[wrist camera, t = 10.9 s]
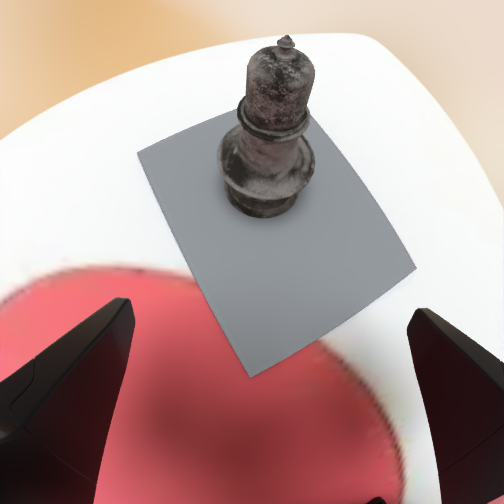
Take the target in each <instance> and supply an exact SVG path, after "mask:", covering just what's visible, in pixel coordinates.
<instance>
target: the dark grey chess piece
mask: <svg viewBox="0 0 504 504" xmlns="http://www.w3.org/2000/svg"><path fill="white" fill-rule="evenodd" d="M277 44H278V45H279V46H269V47H266V48H263V49H261V50H259V51H258V52H256V53H255V54H254V55H253V56H252V57H251V59H250V61H249V63H248V66H247V79H246V96H244V97H243V99H242V100H241V101H240V102H239V105H238V107H237V118H238V121H239V123H240V124H238V125H236V126H235V127H233V128H232V129H231V130H229V131H228V132H227V133H226V134H225V136H224V137H223V138H222V139H221V141H220V144H219V146H218V149H217V164H218V168H219V171H220V173H221V175H222V176H223V178H224V190H225V193H226V197H227V198H228V200H229V201H230V203H231V204H232V205H233V206H234V207H235V208H236V209H237V210H238V211H240V212H241V213H243V214H245V215H247V216H251V217H255V218H272V217H276V216H279V215H281V214H283V213H285V212H286V211H288V210H289V209H290V208H291V207H292V206H293V205H294V203H295V201H296V199H297V197H298V194H299V192H300V191H301V190H302V189H303V188H304V187H305V186H306V185H307V184H308V183H309V181H310V179H311V177H312V175H313V174H314V169H315V163H316V162H315V155H314V151H313V149H312V147H311V145H310V143H309V141H308V140H307V139H306V138H305V137H304V135H303V133H304V132H305V131H306V130H307V128H308V126H309V124H310V118H311V117H310V112H309V109H308V107H307V103H308V99H309V96H310V93H311V89H312V86H313V82H314V78H315V69H314V66H313V64H312V63H311V61H310V60H309V58H308V57H307V56H306V55H305V54H304V53H302V52H300V51H298V50H296V49H294V48H293V47H294V46H295V43H294V42H293V41H292V39H291V38H290V36H289V35H285V37H282V38H281V39H280V40H278V41H277Z"/></svg>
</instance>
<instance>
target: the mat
mask: <svg viewBox="0 0 504 504" xmlns="http://www.w3.org/2000/svg"><path fill="white" fill-rule="evenodd" d="M310 117H311V118H310V124H309V126H308V128H307V130H306V131H305V132H304V133H303V135H304V137H305V138H306V139H307V140H308V141H309V143H310V145H311V147H312V149H313V151H314V155H315V162H316V163H315V169H314V174H313V175H312V177H311V179H310V181H309V183H308V184H307V185H306V186H305V187H304V188H303V189H302V190H301V191H300V192H299V194H298V197H297V199H296V201H295V203H294V205H293V206H292V207H291V208H290V209H289V210H288V211H286V212H285V213H283V214H281V215H279V216H276V217H272V218H255V217H251V216H247V215H245V214H243V213H241V212H240V211H238V210H237V209H236V208H235V207H234V206H233V205H232V204H231V203H230V201H229V200H228V198H227V197H226V193H225V190H224V178H223V176H222V175H221V173H220V171H219V168H218V164H217V149H218V146H219V144H220V141H221V139H222V138H223V137H224V136H225V134H226V133H227V132H228V131H229V130H231V129H232V128H233V127H235V126H236V125H238V124H240V123H239V121H238V118H237V109H235V110H233V111H230V112H227V113H225V114H222V115H219V116H217V117H214V118H212V119H209V120H207V121H204V122H202V123H199V124H197V125H195V126H192V127H190V128H188V129H185V130H183V131H181V132H179V133H176V134H174V135H172V136H170V137H168V138H166V139H163V140H161V141H159V142H157V143H155V144H153V145H151V146H149V147H147V148H145V149H143V150H141V151H139V152H137V155H138V157H139V160H140V162H141V164H142V167H143V169H144V171H145V174H146V176H147V178H148V181H149V183H150V185H151V187H152V190H153V192H154V194H155V196H156V199H157V201H158V203H159V205H160V207H161V209H162V212H163V214H164V216H165V218H166V220H167V222H168V225H169V227H170V229H171V231H172V233H173V235H174V237H175V239H176V241H177V243H178V245H179V247H180V250H181V252H182V254H183V256H184V258H185V260H186V262H187V264H188V266H189V268H190V270H191V272H192V274H193V276H194V277H195V279H196V281H197V283H198V285H199V287H200V289H201V291H202V293H203V295H204V297H205V299H206V301H207V302H208V304H209V306H210V308H211V310H212V312H213V314H214V315H215V317H216V319H217V321H218V323H219V325H220V326H221V328H222V330H223V332H224V334H225V335H226V337H227V339H228V341H229V343H230V344H231V346H232V348H233V350H234V351H235V353H236V355H237V357H238V358H239V360H240V362H241V363H242V365H243V367H244V369H245V370H246V372H247V374H248V375H249V377H250V378H251V377H253V376H255V375H257V374H259V373H261V372H262V371H264V370H266V369H268V368H270V367H272V366H273V365H275V364H277V363H279V362H280V361H282V360H284V359H286V358H287V357H289V356H291V355H292V354H294V353H296V352H297V351H299V350H301V349H302V348H304V347H306V346H307V345H309V344H311V343H312V342H314V341H315V340H317V339H319V338H320V337H322V336H323V335H325V334H326V333H328V332H329V331H331V330H333V329H334V328H336V327H337V326H339V325H340V324H342V323H343V322H345V321H346V320H348V319H349V318H351V317H352V316H353V315H355V314H356V313H358V312H359V311H361V310H362V309H363V308H365V307H366V306H368V305H369V304H371V303H372V302H373V301H375V300H376V299H377V298H379V297H380V296H382V295H383V294H384V293H386V292H387V291H388V290H390V289H391V288H392V287H394V286H395V285H396V284H397V283H399V282H400V281H401V280H403V279H404V278H405V277H406V276H408V275H409V274H410V273H411V272H413V271H414V270H415V269H416V266H415V264H414V263H413V261H412V259H411V257H410V255H409V254H408V252H407V250H406V248H405V247H404V245H403V243H402V242H401V240H400V238H399V237H398V235H397V233H396V232H395V230H394V228H393V227H392V225H391V223H390V222H389V220H388V219H387V217H386V216H385V214H384V212H383V211H382V209H381V208H380V206H379V205H378V203H377V202H376V200H375V199H374V197H373V196H372V194H371V193H370V191H369V190H368V189H367V187H366V186H365V184H364V183H363V181H362V180H361V179H360V177H359V176H358V174H357V173H356V172H355V170H354V169H353V168H352V166H351V165H350V163H349V162H348V161H347V159H346V158H345V157H344V156H343V154H342V153H341V152H340V150H339V149H338V148H337V146H336V145H335V144H334V143H333V141H332V140H331V139H330V138H329V136H328V135H327V134H326V133H325V131H324V130H323V129H322V128H321V127H320V125H319V124H318V123H317V122H316V121H315V119H314V118H313V117H312V116H311V115H310Z"/></svg>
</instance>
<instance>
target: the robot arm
mask: <svg viewBox="0 0 504 504" xmlns="http://www.w3.org/2000/svg"><path fill="white" fill-rule="evenodd" d="M134 328H135V316H134V312H133V308H132V304H131V301H130V299H128V298H123V297H116V298H114V299H113V300H112V301H110V302H109V303H107V304H106V305H105V306H103V307H102V308H100V309H99V310H98V311H96V312H95V313H93V314H92V315H91V316H89V317H88V318H86V319H85V320H84V321H82V322H81V323H80V324H78V325H77V326H75V327H74V328H73V329H71V330H70V331H69V332H67V333H66V334H65V335H63V336H62V337H61V338H59V339H58V340H57V341H55V342H54V343H53V344H51V345H50V346H49V347H47V348H46V349H45V350H43V351H42V352H41V353H39V354H38V355H37V356H35V359H32V360H30V361H29V362H28V363H26V364H25V365H24V366H22V367H21V368H20V369H18V370H17V371H16V372H14V373H13V374H12V375H10V376H9V377H7V378H6V379H4V380H3V381H1V382H0V504H93V502H94V497H95V491H96V484H97V480H98V475H99V470H100V466H101V461H102V456H103V452H104V448H105V444H106V439H107V435H108V431H109V428H110V424H111V420H112V416H113V412H114V409H115V405H116V402H117V398H118V395H119V391H120V388H121V385H122V381H123V378H124V375H125V371H126V367H127V363H128V357H129V352H130V347H131V342H132V338H133V333H134ZM407 336H408V340H409V345H410V349H411V354H412V359H413V364H414V369H415V373H416V377H417V380H418V384H419V387H420V391H421V395H422V398H423V402H424V406H425V410H426V414H427V418H428V423H429V427H430V432H431V436H432V441H433V446H434V452H435V457H436V463H437V469H438V476H439V484H440V491H441V500H442V504H504V363H503V362H502V361H500V360H499V359H498V358H497V357H495V356H494V355H493V354H491V353H490V352H489V351H487V350H486V349H485V348H483V347H482V346H481V345H479V344H478V343H476V342H475V341H474V340H472V339H471V338H470V337H468V336H467V335H465V334H464V333H463V332H461V331H460V330H458V329H457V328H456V327H454V326H453V325H451V324H450V323H449V322H447V321H446V320H444V319H443V318H441V317H440V316H439V315H437V314H436V313H434V312H433V311H431V310H430V309H428V308H418V309H417V310H415V312H414V314H413V316H412V318H411V320H410V322H409V324H408V326H407ZM378 502H379V503H378ZM377 503H378V504H386V502H385V500H384V499H383V498H381V497H379V498H376V499H374V500H373V501H371V502H370V503H368V504H377Z"/></svg>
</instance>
